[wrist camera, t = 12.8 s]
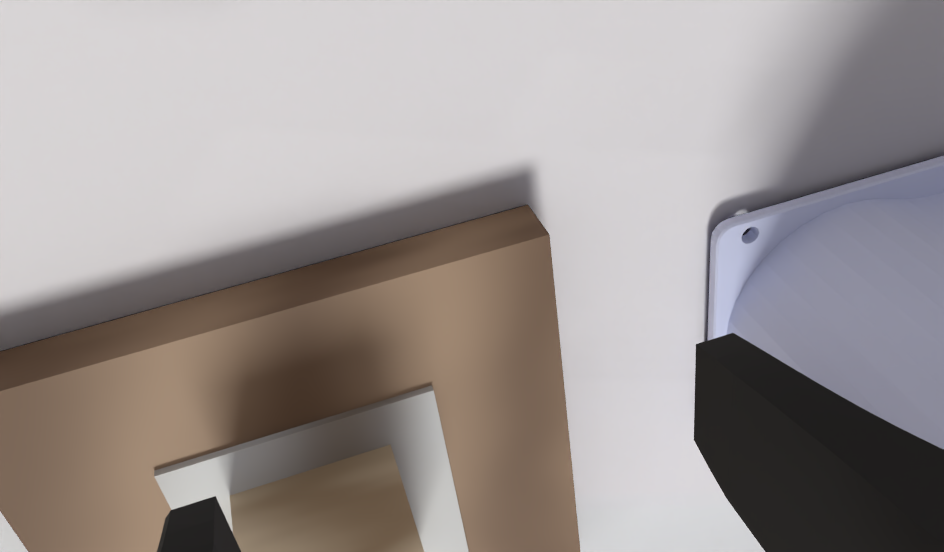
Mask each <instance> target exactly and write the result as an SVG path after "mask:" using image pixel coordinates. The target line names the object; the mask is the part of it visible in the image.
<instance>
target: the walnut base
mask: <svg viewBox="0 0 944 552" xmlns="http://www.w3.org/2000/svg"><path fill="white" fill-rule="evenodd" d="M390 444H391V448H392V451H393V454H394V457H395V460H396V464H397V467H398V470H399V473H400V476H401V479H402V483H403V486H404V489H405V492H406V495H407V499H408V502H409V505H410V508H411V511H412V514H413V518H414V521H415V524H416V527H417V530H418V534H419V537H420V540H421V543H422V546H423V549H424V552H580V544H579V534H578V524H577V514H576V503H575V493H574V483H573V473H572V462H571V452H570V442H569V431H568V421H567V411H566V401H565V390H564V380H563V370H562V360H561V349H560V339H559V329H558V319H557V308H556V298H555V288H554V278H553V267H552V257H551V247H550V237H549V233H548V232H547V231H546V229H545V228H544V227H543V225H542V224H541V222H540V221H539V220H538V218H537V217H536V215H535V214H534V213H533V211H532V210H531V208H530V207H529V206H528V205H525V206H522V207H518V208H515V209H511V210H507V211H504V212H500V213H497V214H493V215H489V216H486V217H482V218H479V219H475V220H471V221H468V222H464V223H461V224H457V225H453V226H450V227H446V228H443V229H439V230H435V231H432V232H428V233H425V234H421V235H418V236H414V237H410V238H407V239H403V240H400V241H396V242H392V243H389V244H385V245H382V246H378V247H374V248H371V249H367V250H364V251H360V252H356V253H353V254H349V255H346V256H342V257H338V258H335V259H331V260H328V261H324V262H321V263H317V264H313V265H310V266H306V267H303V268H299V269H295V270H292V271H288V272H285V273H281V274H277V275H274V276H270V277H267V278H263V279H259V280H256V281H252V282H249V283H245V284H241V285H238V286H234V287H231V288H227V289H223V290H220V291H216V292H213V293H209V294H206V295H202V296H198V297H195V298H191V299H188V300H184V301H180V302H177V303H173V304H170V305H166V306H162V307H159V308H155V309H152V310H148V311H144V312H141V313H137V314H134V315H130V316H126V317H123V318H119V319H116V320H112V321H109V322H105V323H101V324H98V325H94V326H91V327H87V328H83V329H80V330H76V331H73V332H69V333H65V334H62V335H58V336H55V337H51V338H47V339H44V340H40V341H37V342H33V343H29V344H26V345H22V346H19V347H15V348H12V349H8V350H4V351H1V352H0V511H1V513H2V514H3V516H4V517H5V518H6V520H7V521H8V523H9V524H10V526H11V527H12V529H13V530H14V532H15V533H16V534H17V536H18V537H19V539H20V540H21V542H22V543H23V545H24V546H25V547H26V549H27V550H28V552H157V549H158V546H159V542H160V538H161V534H162V530H163V526H164V522H165V518H166V517H167V515H168V514H169V512H170V511H171V510H173V509H176V508H179V507H183V506H186V505H189V504H192V503H195V502H198V501H202V500H205V499H208V498H211V497H214V496H216V498H217V500H218V502H219V505H220V507H221V509H222V511H223V513H224V515H225V518H226V520H227V522H228V524H229V526H230V528H231V531H232V533H233V527H232V517H231V506H230V495H233V494H236V493H240V492H243V491H246V490H249V489H252V488H255V487H258V486H262V485H265V484H268V483H271V482H274V481H277V480H280V479H284V478H287V477H290V476H293V475H296V474H299V473H302V472H306V471H309V470H312V469H315V468H318V467H321V466H324V465H327V464H331V463H334V462H337V461H340V460H343V459H346V458H349V457H353V456H356V455H359V454H362V453H365V452H368V451H371V450H375V449H378V448H381V447H384V446H387V445H390Z"/></svg>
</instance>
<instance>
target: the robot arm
mask: <svg viewBox="0 0 944 552" xmlns="http://www.w3.org/2000/svg"><path fill="white" fill-rule="evenodd" d="M750 227H751V228H750ZM748 228H750V231H749V232H748V233H747V234H745V235H744V236H742V235H743V233H744V232H745V231H746V230H747V229H748ZM694 441H695V442H696V444H697V446H698V448H699V450H700V452H701V454H702V455H703V457H704V459H705V461H706V463H707V465H708V466H709V468H710V470H711V472H712V474H713V475H714V477H715V479H716V481H717V482H718V484H719V486H720V488H721V489H722V491H723V493H724V495H725V496H726V498H727V499H728V501H729V502H730V503H731V505H732V506H733V508H734V509H735V511H736V512H737V513H738V515H739V516H740V517H741V519H742V520H743V522H744V523H745V524H746V526H747V527H748V528H749V530H750V531H751V532H752V534H753V535H754V537H755V538H756V539H757V541H758V542H759V543H760V545H761V546H762V547H763V549H764V550H765V551H766V552H944V156H940V157H937V158H934V159H930V160H927V161H923V162H920V163H917V164H913V165H910V166H906V167H903V168H899V169H896V170H893V171H889V172H886V173H882V174H879V175H875V176H872V177H869V178H865V179H862V180H858V181H855V182H852V183H848V184H845V185H841V186H838V187H834V188H831V189H828V190H824V191H821V192H817V193H814V194H810V195H807V196H804V197H800V198H797V199H793V200H790V201H787V202H783V203H780V204H776V205H773V206H769V207H766V208H763V209H759V210H756V211H752V212H749V213H745V214H742V215H739V216H735V217H732V218H728V219H726V220H724V221H722V222H721V223H719V224H718V225H717V226H716V227H715V229H714V231H713V232H712V236H711V248H710V279H709V310H708V341H705V342H702V343H699V344H696V373H695V418H694ZM157 552H241V550H240V548H239V546H238V544H237V541H236V539H235V537H234V535H233V533H232V531H231V528H230V526H229V524H228V522H227V520H226V518H225V515H224V513H223V511H222V509H221V507H220V505H219V502H218V500H217V498H216V496H214V497H211V498H208V499H205V500H202V501H198V502H195V503H192V504H189V505H186V506H183V507H179V508H176V509H173V510H171V511H170V512H169V514H168V515H167V517H166V518H165V522H164V526H163V530H162V534H161V538H160V542H159V546H158V549H157Z"/></svg>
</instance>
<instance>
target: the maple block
mask: <svg viewBox="0 0 944 552" xmlns="http://www.w3.org/2000/svg"><path fill="white" fill-rule="evenodd" d="M230 506H231V517H232V527H233V535H234V537H235V539H236V541H237V544H238V546H239V548H240V550H241V552H424V549H423V546H422V543H421V540H420V537H419V534H418V530H417V527H416V524H415V521H414V518H413V514H412V511H411V508H410V505H409V502H408V499H407V495H406V492H405V489H404V486H403V483H402V479H401V476H400V473H399V470H398V467H397V464H396V460H395V457H394V454H393V451H392V448H391V444H390V445H387V446H384V447H381V448H378V449H375V450H371V451H368V452H365V453H362V454H359V455H356V456H353V457H349V458H346V459H343V460H340V461H337V462H334V463H331V464H327V465H324V466H321V467H318V468H315V469H312V470H309V471H306V472H302V473H299V474H296V475H293V476H290V477H287V478H284V479H280V480H277V481H274V482H271V483H268V484H265V485H262V486H258V487H255V488H252V489H249V490H246V491H243V492H240V493H236V494H233V495H230Z"/></svg>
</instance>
